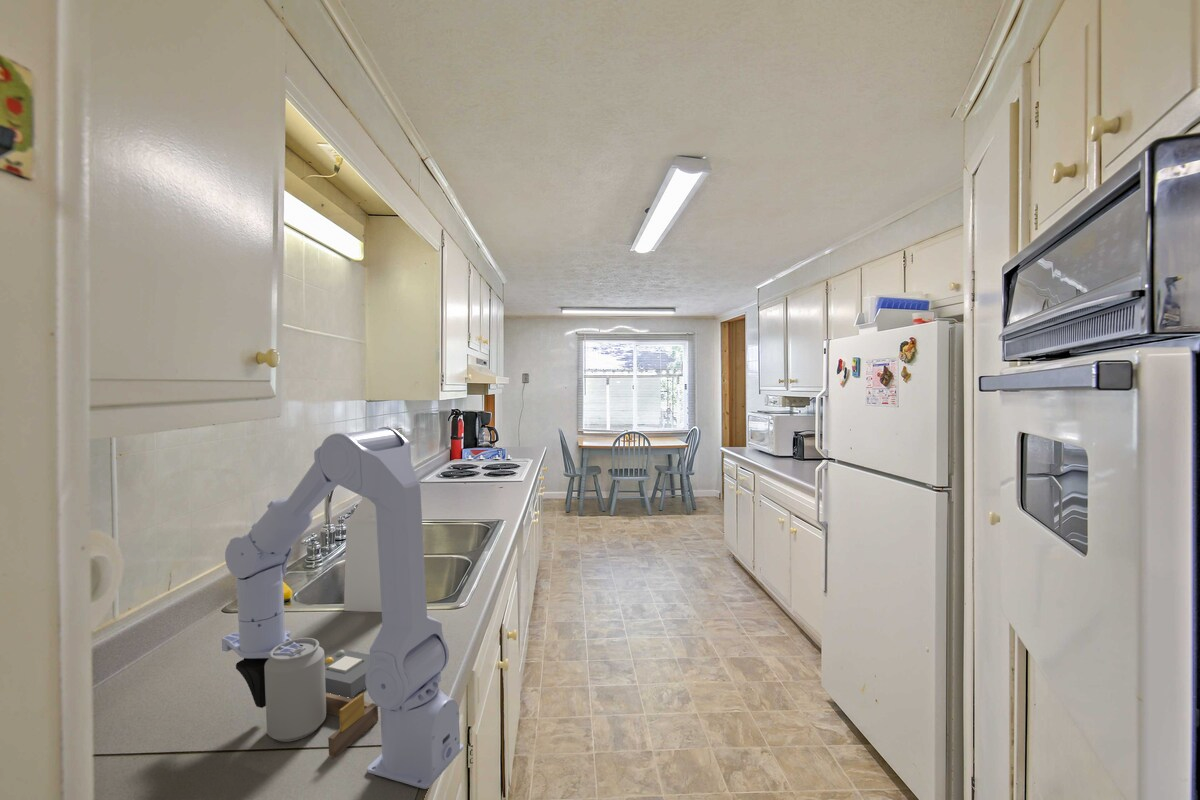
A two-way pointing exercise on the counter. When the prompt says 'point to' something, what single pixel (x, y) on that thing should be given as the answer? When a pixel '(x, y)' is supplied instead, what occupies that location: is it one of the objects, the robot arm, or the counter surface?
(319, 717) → the can
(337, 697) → the lockout bracket
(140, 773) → the counter surface
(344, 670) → the block
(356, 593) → the milk
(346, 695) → the panel
